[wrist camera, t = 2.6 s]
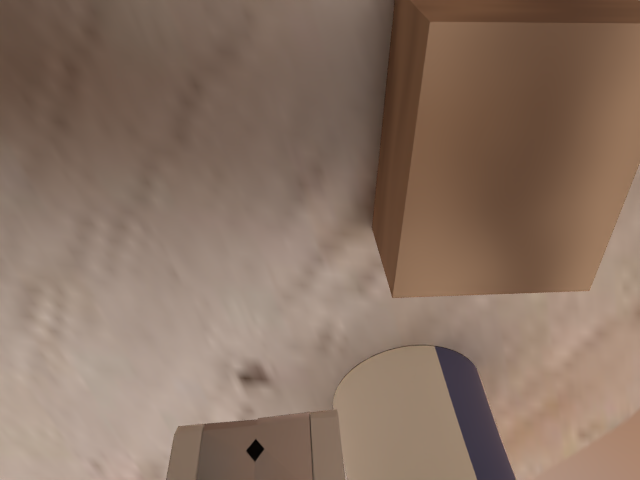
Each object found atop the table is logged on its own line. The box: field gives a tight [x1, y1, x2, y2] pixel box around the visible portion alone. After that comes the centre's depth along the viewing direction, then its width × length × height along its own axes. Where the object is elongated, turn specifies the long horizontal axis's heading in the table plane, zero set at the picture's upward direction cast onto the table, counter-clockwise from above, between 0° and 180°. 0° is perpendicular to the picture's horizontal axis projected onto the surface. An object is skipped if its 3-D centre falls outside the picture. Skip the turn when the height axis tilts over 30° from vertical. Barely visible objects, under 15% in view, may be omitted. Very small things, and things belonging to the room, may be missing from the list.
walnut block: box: [372, 0, 640, 298], centre depth 19 cm, size 7×9×4 cm
